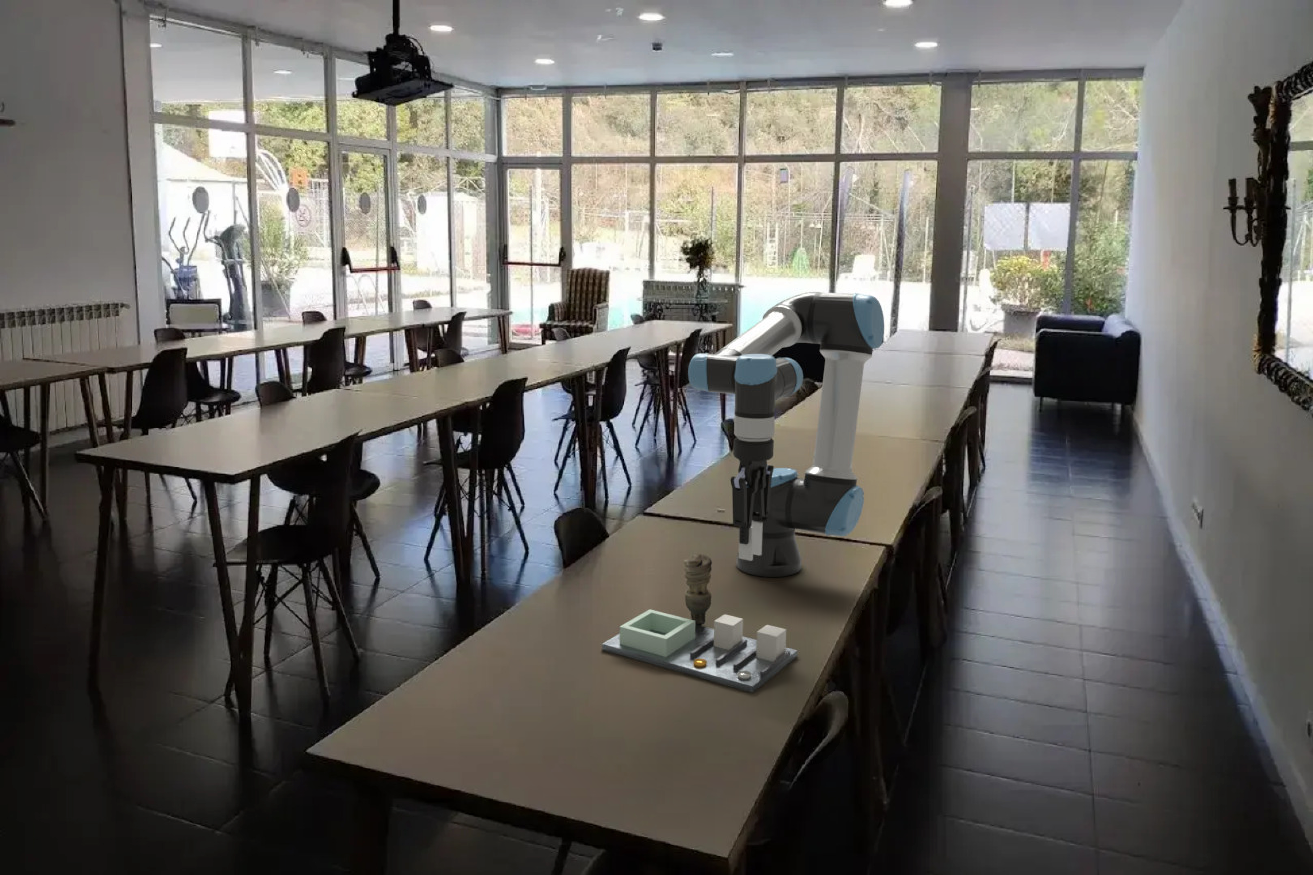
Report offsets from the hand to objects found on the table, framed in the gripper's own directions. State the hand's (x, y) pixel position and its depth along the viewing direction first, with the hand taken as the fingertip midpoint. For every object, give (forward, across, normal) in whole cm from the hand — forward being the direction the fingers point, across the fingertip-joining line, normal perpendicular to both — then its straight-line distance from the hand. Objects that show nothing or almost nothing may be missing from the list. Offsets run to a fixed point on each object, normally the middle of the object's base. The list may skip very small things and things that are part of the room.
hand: (750, 556), depth 196 cm
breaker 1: (+15, +8, 0) cm, 17 cm away
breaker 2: (+15, +8, +9) cm, 20 cm away
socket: (+15, +14, -12) cm, 24 cm away
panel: (+17, +12, -4) cm, 21 cm away
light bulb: (+17, +1, -11) cm, 20 cm away
